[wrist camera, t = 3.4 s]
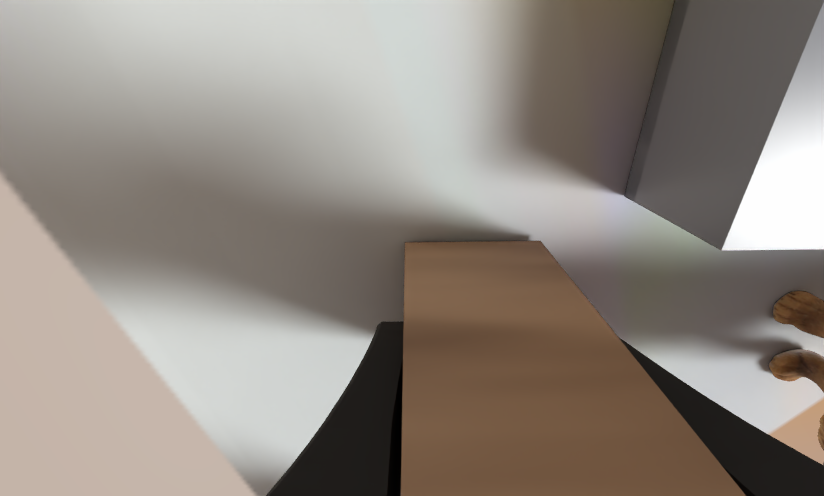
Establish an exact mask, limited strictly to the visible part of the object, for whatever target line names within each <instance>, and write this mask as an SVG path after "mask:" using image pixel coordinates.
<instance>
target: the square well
mask: <svg viewBox="0 0 824 496" xmlns="http://www.w3.org/2000/svg"><path fill="white" fill-rule="evenodd" d="M624 196H625V197H627V198H628V199H630V200H632V201H634V202H636V203H637V204H639V205H641V206H643V207H645V208H646V209H648V210H650V211H652V212H653V213H655V214H657V215H659V216H661V217H662V218H664V219H666V220H668V221H670V222H671V223H673V224H675V225H677V226H679V227H680V228H682V229H684V230H686V231H688V232H689V233H691V234H693V235H695V236H697V237H698V238H700V239H702V240H704V241H705V242H707V243H709V244H711V245H713V246H714V247H716V248H718V249H720V250H798V249H824V0H675V3H674V7H673V10H672V14H671V18H670V22H669V26H668V30H667V33H666V37H665V41H664V45H663V49H662V53H661V57H660V60H659V64H658V68H657V72H656V76H655V80H654V83H653V87H652V91H651V95H650V99H649V103H648V107H647V110H646V114H645V118H644V122H643V126H642V130H641V133H640V137H639V141H638V145H637V149H636V153H635V157H634V160H633V164H632V168H631V172H630V176H629V180H628V183H627V187H626V191H625V195H624Z"/></svg>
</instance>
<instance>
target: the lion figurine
mask: <svg viewBox="0 0 824 496" xmlns="http://www.w3.org/2000/svg"><path fill="white" fill-rule="evenodd" d="M773 317H774V319H775V320H776V321H778V322H780V323H783V324H791V325H794V326H795V327H797V328H798V329H800V330H801V331H804V332H807V333H810V334H812V335H816V336H819V337H822V338H824V301H823V300H821V299H819V298H818V297H816V296H814V295H812V294H810V293H808V292H805V291H793V292H790V293H788V294H786V295H784V296H783V297H782V298H780V299H779V300H778V301H777V303H775V304H774V308H773ZM769 368H770V369H771V371H772V374H773V375H774V376H775V377H776V378H778V379H781V380H784V381H795V380H797V379H798V378H801V377H806V378H808V379H810V380H812V381H813V382H815V383H816V384H817V385H818V386H819V387H820V388H821V390H822V391H823V392H824V357H823V356H821V355H819V354H817V353H815V352H812V351H809V350H803V349H798V350H789V351H786V352H783V353H780V354H778V355H775V356H774V357H773V359H772V361H771V362H770V363H769ZM818 440H819V443H820V445H821V447H822V449H823V450H824V415H823V416H822V417H821V418H820V428H819V432H818ZM823 465H824V463H823Z"/></svg>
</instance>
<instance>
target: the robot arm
mask: <svg viewBox="0 0 824 496" xmlns="http://www.w3.org/2000/svg"><path fill="white" fill-rule="evenodd" d="M403 329H404V322H381V323H380V324H379V325H378V326H377V329H376V332H375V334H374V337H373V339H372V341H371V343H370V346H369V348H368V350H367V352H366V354H365V356H364V358H363V360H362V361H361V363H360V365H359V367H358V368H357V370H356V372H355V374H354V376H353V377H352V379H351V381H350V383H349V384H348V386H347V388H346V389H345V391H344V392H343V394H342V395H341V397H340V398H339V400H338V402H337V403H336V405H335V406H334V408H333V409H332V411H331V412H330V414H329V415H328V417H327V418H326V420H325V421H324V423H323V424H322V425H321V427H320V428H319V430H318V431H317V432H316V434H315V435H314V437H313V438H312V439H311V441H310V442H309V443H308V445H307V446H306V447H305V449H304V450H303V451H302V452H301V454H300V455H299V456H298V458H297V459H296V460H295V461H294V463H293V464H292V465H291V467H290V468H289V469H288V470H287V471H286V473H285V474H284V475H283V476H282V477H281V479H280V480H279V481H278V482H277V483H276V485H275V486H274V487H273V488H272V489H271V490H270V492H269V493H268V494H267V495H266V496H401V457H402V393H403ZM618 338H619V337H618ZM619 339H620V338H619ZM620 340H621V341H622V343H623V344H624V345H625V346H626V348H627V349H628V350H629V351H630V353H631V354H632V355H633V356H634V358H635V359H636V360H637V361H638V362H639V364H640V365H641V366H642V367H643V369H644V370H645V371H646V372H647V374H648V375H649V376H650V377H651V379H652V380H653V381H654V382H655V384H656V385H657V386H658V387H659V389H660V390H661V391H662V392H663V393H664V395H665V396H666V397H667V398H668V400H669V401H670V402H671V403H672V405H673V406H674V407H675V408H676V410H677V411H678V412H679V413H680V415H681V416H682V417H683V418H684V419H685V421H686V422H687V423H688V424H689V426H690V427H691V428H692V429H693V431H694V432H695V433H696V434H697V436H698V437H699V438H700V439H701V441H702V442H703V443H704V444H705V446H706V447H707V448H708V449H709V450H710V452H711V453H712V454H713V455H714V457H715V458H716V459H717V460H718V462H719V463H720V464H721V465H722V467H723V468H724V469H725V470H726V472H727V473H728V474H729V475H730V476H731V478H732V479H733V480H734V481H735V483H736V484H737V485H738V486H739V488H740V489H741V490H742V491H743V493H744V494H745V495H746V496H824V465H822V464H820V463H818V462H816V461H814V460H812V459H810V458H809V457H807V456H805V455H803V454H802V453H800V452H798V451H796V450H795V449H793V448H791V447H789V446H787V445H786V444H784V443H782V442H780V441H779V440H777V439H775V438H773V437H771V436H770V435H768V434H766V433H764V432H763V431H761V430H759V429H758V428H756V427H754V426H753V425H751V424H749V423H747V422H746V421H744V420H742V419H741V418H739V417H738V416H736V415H734V414H733V413H731V412H730V411H728V410H726V409H725V408H723V407H722V406H720V405H718V404H717V403H715V402H714V401H712V400H710V399H709V398H707V397H706V396H704V395H703V394H701V393H699V392H698V391H696V390H695V389H693V388H692V387H690V386H689V385H687V384H686V383H684V382H683V381H681V380H680V379H678V378H677V377H675V376H674V375H672V374H671V373H669V372H668V371H666V370H665V369H664V368H662V367H661V366H659V365H658V364H656V363H655V362H653V361H652V360H650V359H649V358H648V357H646V356H645V355H643V354H642V353H640V352H639V351H638V350H636V349H635V348H633V347H632V346H630V345H629V344H628V343H626V342H625V341H623V340H622V339H620Z"/></svg>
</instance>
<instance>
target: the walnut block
mask: <svg viewBox="0 0 824 496" xmlns="http://www.w3.org/2000/svg"><path fill="white" fill-rule="evenodd" d="M401 496H746V495H745V494H744V493H743V491H742V490H741V489H740V488H739V486H738V485H737V484H736V483H735V481H734V480H733V479H732V478H731V476H730V475H729V474H728V473H727V472H726V470H725V469H724V468H723V467H722V465H721V464H720V463H719V462H718V460H717V459H716V458H715V457H714V455H713V454H712V453H711V452H710V450H709V449H708V448H707V447H706V446H705V444H704V443H703V442H702V441H701V439H700V438H699V437H698V436H697V434H696V433H695V432H694V431H693V429H692V428H691V427H690V426H689V424H688V423H687V422H686V421H685V419H684V418H683V417H682V416H681V415H680V413H679V412H678V411H677V410H676V408H675V407H674V406H673V405H672V403H671V402H670V401H669V400H668V398H667V397H666V396H665V395H664V393H663V392H662V391H661V390H660V389H659V387H658V386H657V385H656V384H655V382H654V381H653V380H652V379H651V377H650V376H649V375H648V374H647V372H646V371H645V370H644V369H643V367H642V366H641V365H640V364H639V362H638V361H637V360H636V359H635V358H634V356H633V355H632V354H631V353H630V351H629V350H628V349H627V348H626V346H625V345H624V344H623V343H622V341H621V340H620V339H619V338H618V336H617V335H616V334H615V333H614V331H613V330H612V329H611V328H610V327H609V325H608V324H607V323H606V322H605V320H604V319H603V318H602V317H601V315H600V314H599V313H598V312H597V310H596V309H595V308H594V307H593V305H592V304H591V303H590V302H589V301H588V299H587V298H586V297H585V296H584V294H583V293H582V292H581V291H580V289H579V288H578V287H577V286H576V284H575V283H574V282H573V281H572V279H571V278H570V277H569V276H568V274H567V273H566V272H565V271H564V270H563V268H562V267H561V266H560V265H559V263H558V262H557V261H556V260H555V258H554V257H553V256H552V255H551V253H550V252H549V251H548V250H547V248H546V247H545V246H544V245H543V244H542V242H541V241H486V242H405V266H404V329H403V393H402V457H401Z"/></svg>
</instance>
